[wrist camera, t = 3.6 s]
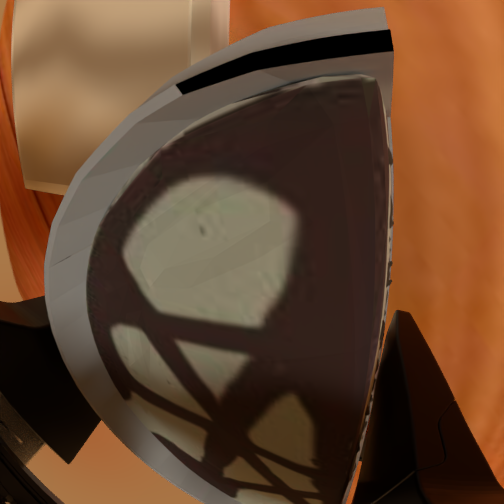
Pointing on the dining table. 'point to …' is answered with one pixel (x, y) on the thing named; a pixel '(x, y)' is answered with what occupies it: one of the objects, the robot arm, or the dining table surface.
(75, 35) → the serving board
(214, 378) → the food container
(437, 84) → the dining table surface
